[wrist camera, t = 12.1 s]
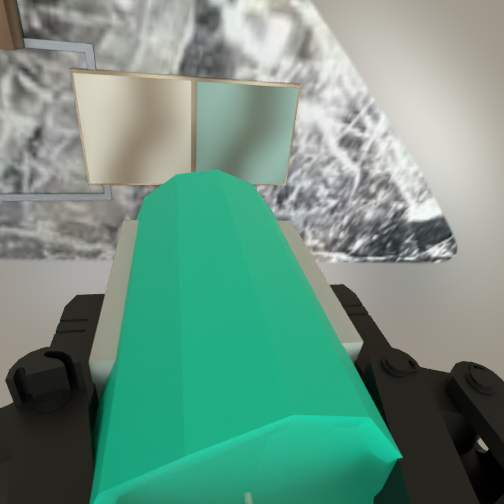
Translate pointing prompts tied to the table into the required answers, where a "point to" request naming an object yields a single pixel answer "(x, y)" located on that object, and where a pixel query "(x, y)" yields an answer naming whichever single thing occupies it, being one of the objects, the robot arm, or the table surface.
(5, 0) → the tray
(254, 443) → the candle
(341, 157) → the table surface
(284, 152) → the beige green flat slab
